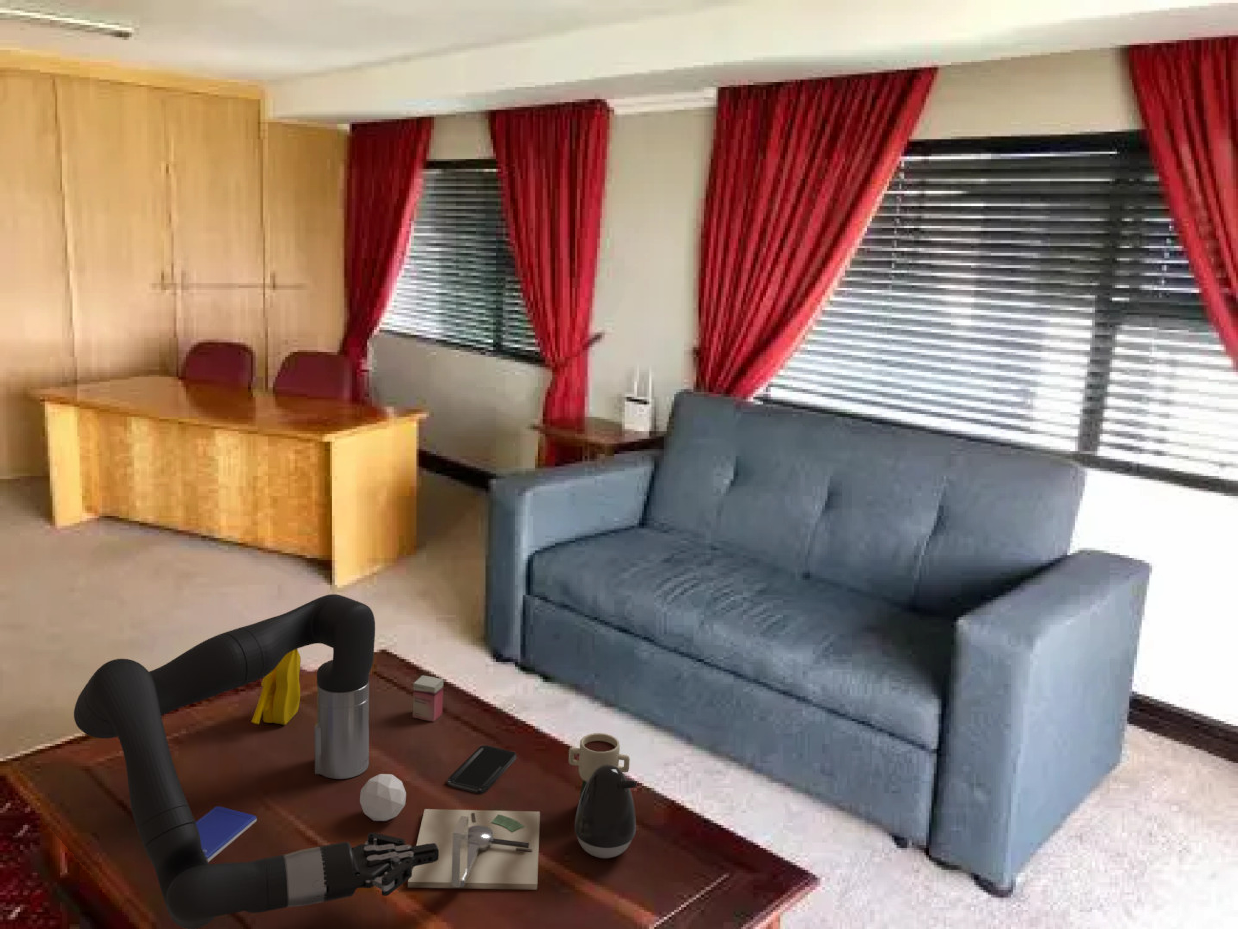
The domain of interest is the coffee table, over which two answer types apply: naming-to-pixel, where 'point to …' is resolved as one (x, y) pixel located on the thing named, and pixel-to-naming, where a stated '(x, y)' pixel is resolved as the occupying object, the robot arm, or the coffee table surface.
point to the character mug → (597, 755)
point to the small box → (427, 698)
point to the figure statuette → (280, 691)
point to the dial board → (492, 864)
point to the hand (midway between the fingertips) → (437, 852)
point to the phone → (482, 769)
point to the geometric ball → (383, 797)
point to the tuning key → (472, 848)
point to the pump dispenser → (606, 813)
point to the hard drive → (221, 829)
